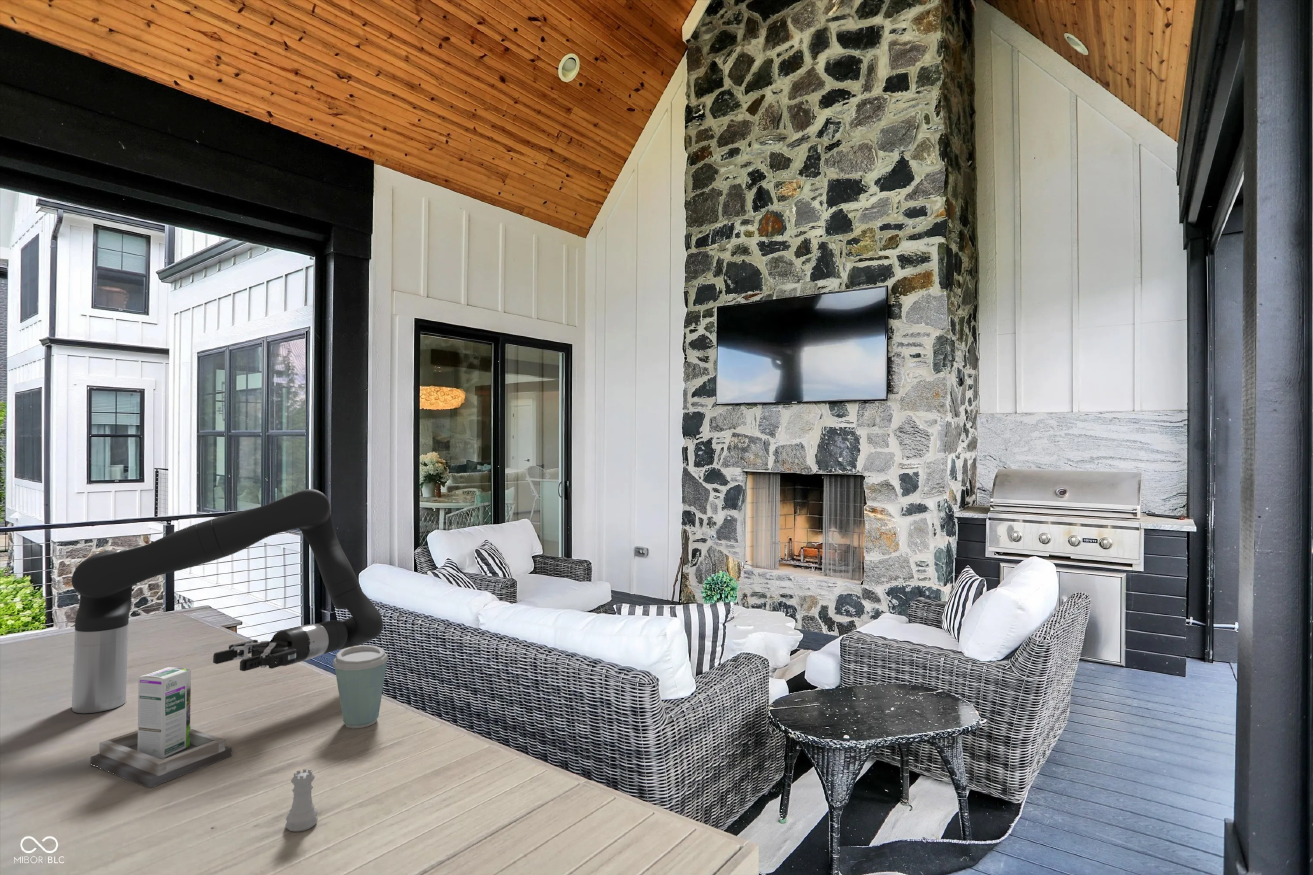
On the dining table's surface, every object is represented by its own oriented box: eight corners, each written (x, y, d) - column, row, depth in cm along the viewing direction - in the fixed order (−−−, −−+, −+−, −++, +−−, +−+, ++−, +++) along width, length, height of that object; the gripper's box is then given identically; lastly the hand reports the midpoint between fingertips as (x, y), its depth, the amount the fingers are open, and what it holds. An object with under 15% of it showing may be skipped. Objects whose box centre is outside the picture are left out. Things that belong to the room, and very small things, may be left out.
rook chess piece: (292, 817, 109) (294, 765, 110) (322, 816, 110) (323, 765, 110) (279, 833, 105) (281, 779, 105) (310, 832, 105) (312, 779, 105)
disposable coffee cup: (395, 723, 147) (397, 651, 147) (344, 738, 139) (346, 661, 139) (372, 709, 154) (374, 640, 154) (322, 722, 146) (324, 650, 146)
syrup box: (162, 760, 125) (164, 678, 125) (135, 756, 126) (138, 674, 126) (190, 746, 130) (192, 668, 130) (164, 743, 131) (166, 665, 132)
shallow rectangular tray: (90, 764, 125) (91, 745, 125) (173, 736, 138) (173, 718, 138) (150, 787, 118) (150, 766, 118) (231, 755, 130) (232, 736, 130)
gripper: (279, 622, 158) (206, 638, 143) (323, 631, 152) (251, 649, 137) (278, 655, 158) (204, 674, 143) (321, 666, 151) (249, 687, 137)
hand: (227, 662), depth 140 cm, fingers open, 8 cm apart
